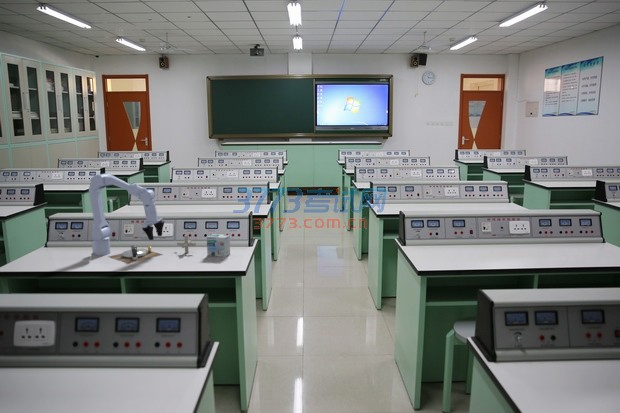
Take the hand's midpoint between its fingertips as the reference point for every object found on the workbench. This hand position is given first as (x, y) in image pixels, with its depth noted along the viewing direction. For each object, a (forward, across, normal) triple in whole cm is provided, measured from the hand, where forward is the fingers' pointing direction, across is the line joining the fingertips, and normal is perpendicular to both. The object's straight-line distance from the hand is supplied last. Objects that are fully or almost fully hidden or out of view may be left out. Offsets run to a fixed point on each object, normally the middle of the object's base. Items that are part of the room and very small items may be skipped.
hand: (155, 237), depth 234 cm
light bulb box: (+15, +12, -29) cm, 34 cm away
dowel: (+8, +2, +7) cm, 11 cm away
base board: (+9, -5, +11) cm, 15 cm away
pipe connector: (+12, +10, -10) cm, 19 cm away
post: (+6, -5, +11) cm, 13 cm away
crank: (+8, -7, +10) cm, 14 cm away
